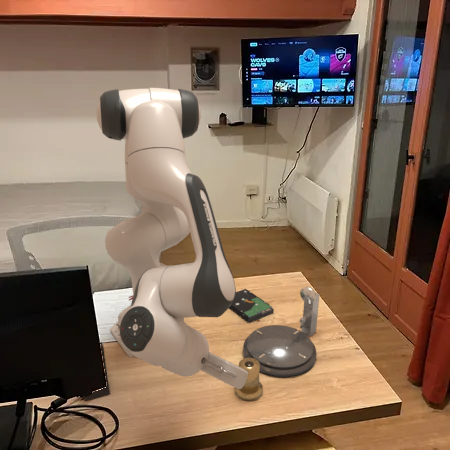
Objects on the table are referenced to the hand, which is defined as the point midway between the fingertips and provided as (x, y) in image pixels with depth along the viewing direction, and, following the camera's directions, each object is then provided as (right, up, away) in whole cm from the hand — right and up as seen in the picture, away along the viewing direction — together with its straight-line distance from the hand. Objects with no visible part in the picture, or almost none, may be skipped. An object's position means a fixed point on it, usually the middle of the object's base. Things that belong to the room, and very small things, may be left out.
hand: (217, 366), depth 96 cm
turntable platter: (+17, -4, +28) cm, 33 cm away
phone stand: (-31, -10, +16) cm, 36 cm away
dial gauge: (+25, -2, +37) cm, 45 cm away
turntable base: (+17, -5, +29) cm, 34 cm away
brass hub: (+7, -11, +15) cm, 20 cm away
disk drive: (+9, +3, +51) cm, 52 cm away
